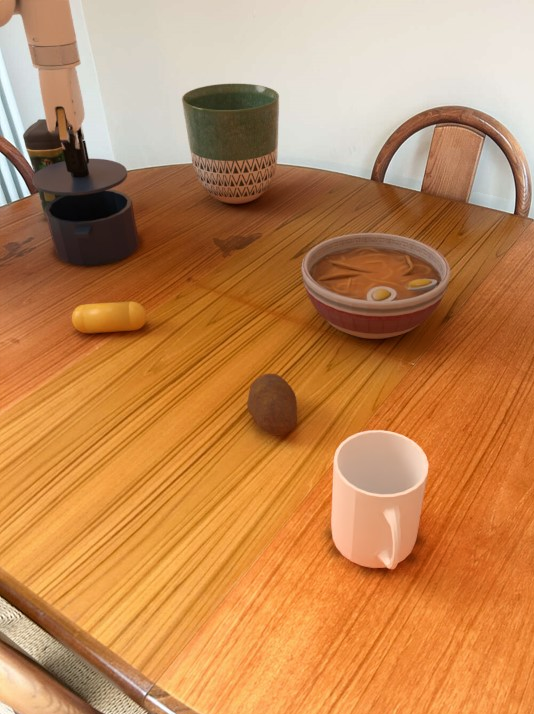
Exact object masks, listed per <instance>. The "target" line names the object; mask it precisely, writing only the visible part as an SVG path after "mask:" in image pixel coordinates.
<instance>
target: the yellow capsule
mask: <svg viewBox="0 0 534 714" xmlns="http://www.w3.org/2000/svg"><path fill="white" fill-rule="evenodd" d="M147 318H148V316H147V310H146V309H145V307H144V306H143V305H142V304H140V303H139V302H136V301H115V302H114V301H113V302H101V303H100V302H97V303H84V304H80V305H78V306H77V307H75V309H74V310H73V311H72V314H71V322H72V325H73V327H74V328H75V329H76V330H77V331H78V332H80V333H82V334H100V333H101V334H102V333H112V332H113V333H116V332H118V333H119V332H130V331H137V330H140V329H142V328H143V327H144V326H145V324H146V322H147Z"/></svg>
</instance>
